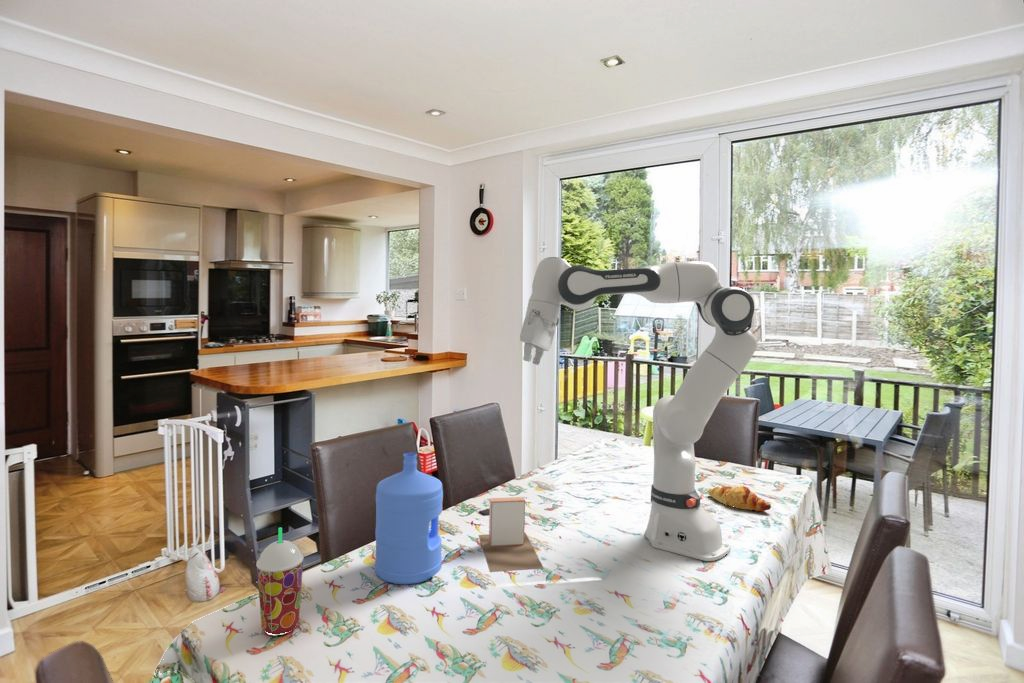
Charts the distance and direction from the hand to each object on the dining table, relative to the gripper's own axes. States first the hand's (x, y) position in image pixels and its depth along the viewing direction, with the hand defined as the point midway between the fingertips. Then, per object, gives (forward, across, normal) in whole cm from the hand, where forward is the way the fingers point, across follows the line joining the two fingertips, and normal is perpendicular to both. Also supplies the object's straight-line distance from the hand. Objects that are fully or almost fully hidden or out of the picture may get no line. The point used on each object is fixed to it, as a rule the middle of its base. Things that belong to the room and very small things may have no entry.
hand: (531, 362), depth 154 cm
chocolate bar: (+47, +16, +1) cm, 49 cm away
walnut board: (+49, -6, -7) cm, 50 cm away
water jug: (+55, -22, +12) cm, 61 cm away
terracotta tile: (+48, -3, -5) cm, 48 cm away
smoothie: (+63, -52, +23) cm, 85 cm away
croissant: (+30, +54, -64) cm, 89 cm away
